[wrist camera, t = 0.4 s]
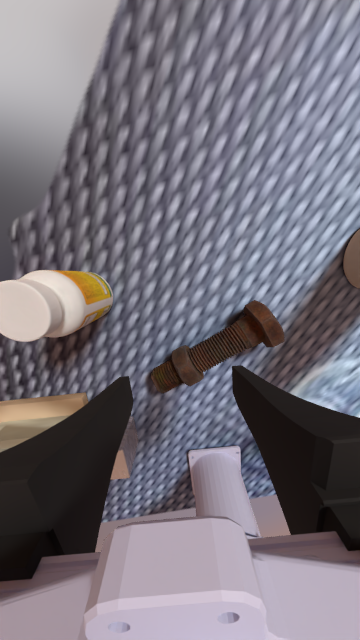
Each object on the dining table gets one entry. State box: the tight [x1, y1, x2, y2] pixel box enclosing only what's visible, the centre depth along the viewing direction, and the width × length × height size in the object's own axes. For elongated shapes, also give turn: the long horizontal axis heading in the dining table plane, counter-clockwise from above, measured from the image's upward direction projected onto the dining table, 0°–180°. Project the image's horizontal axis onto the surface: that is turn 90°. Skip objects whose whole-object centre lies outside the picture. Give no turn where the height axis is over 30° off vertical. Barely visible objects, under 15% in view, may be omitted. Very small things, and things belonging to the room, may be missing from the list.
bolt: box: [151, 300, 284, 393], centre depth 20 cm, size 6×5×15 cm
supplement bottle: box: [0, 270, 113, 342], centre depth 15 cm, size 5×5×10 cm
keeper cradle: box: [0, 393, 89, 452], centre depth 23 cm, size 14×12×4 cm
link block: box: [110, 416, 139, 480], centre depth 23 cm, size 4×4×5 cm
